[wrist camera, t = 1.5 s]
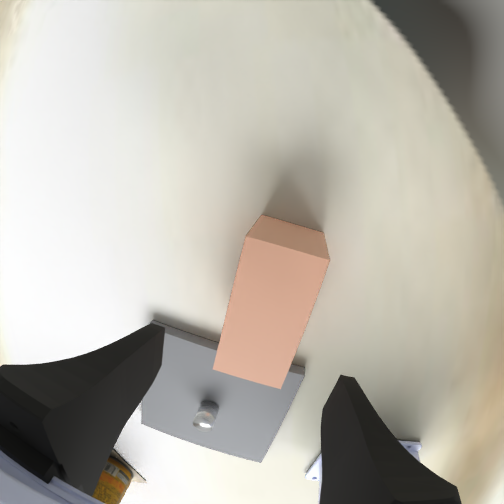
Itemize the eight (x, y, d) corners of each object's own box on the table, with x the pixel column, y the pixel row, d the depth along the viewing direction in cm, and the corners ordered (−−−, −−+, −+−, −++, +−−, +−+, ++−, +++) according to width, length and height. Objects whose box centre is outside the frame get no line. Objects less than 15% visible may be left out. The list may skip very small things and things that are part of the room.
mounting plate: (304, 367, 23) (304, 375, 22) (262, 455, 26) (261, 462, 25) (152, 320, 24) (147, 326, 23) (145, 417, 27) (141, 423, 26)
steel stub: (221, 403, 24) (214, 422, 22) (217, 415, 24) (210, 434, 22) (202, 397, 24) (194, 415, 22) (199, 409, 24) (191, 427, 22)
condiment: (112, 479, 34) (79, 537, 23) (75, 440, 32) (31, 499, 21) (148, 481, 32) (114, 549, 21) (107, 440, 30) (61, 510, 19)
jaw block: (323, 232, 20) (330, 260, 14) (287, 339, 22) (280, 388, 17) (261, 214, 20) (245, 235, 15) (233, 323, 22) (212, 369, 17)
